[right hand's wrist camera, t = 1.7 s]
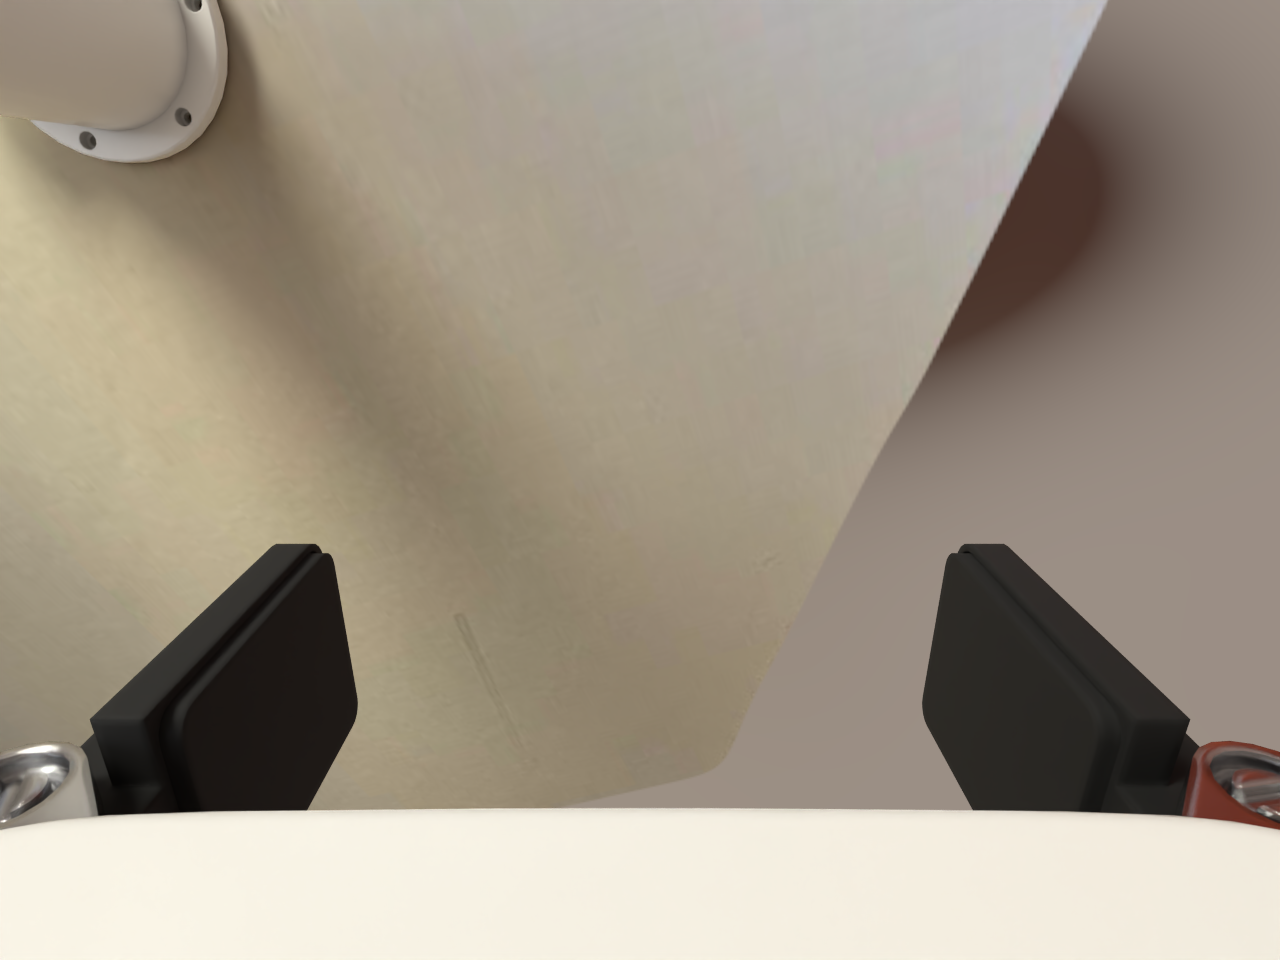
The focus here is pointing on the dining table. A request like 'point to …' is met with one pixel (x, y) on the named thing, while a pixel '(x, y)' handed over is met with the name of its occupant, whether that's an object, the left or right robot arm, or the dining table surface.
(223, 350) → the dining table surface
